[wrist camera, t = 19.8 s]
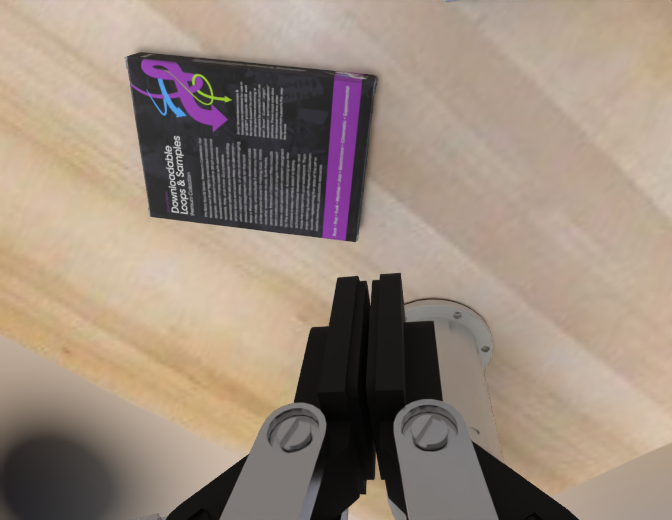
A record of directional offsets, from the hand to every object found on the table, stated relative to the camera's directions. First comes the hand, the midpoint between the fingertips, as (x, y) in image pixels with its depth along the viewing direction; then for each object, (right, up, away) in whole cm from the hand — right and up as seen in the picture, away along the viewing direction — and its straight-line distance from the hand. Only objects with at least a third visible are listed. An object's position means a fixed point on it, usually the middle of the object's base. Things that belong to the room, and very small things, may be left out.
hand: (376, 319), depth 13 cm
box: (-8, +12, +29) cm, 32 cm away
